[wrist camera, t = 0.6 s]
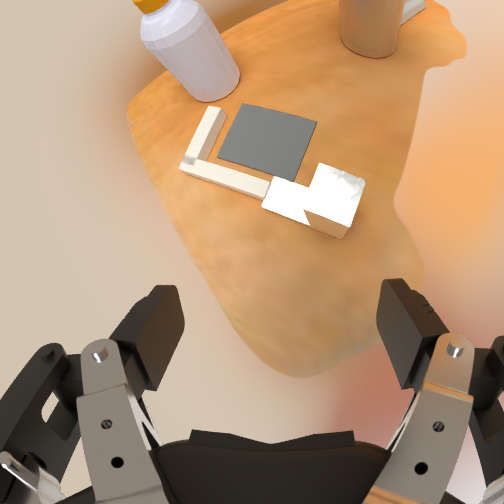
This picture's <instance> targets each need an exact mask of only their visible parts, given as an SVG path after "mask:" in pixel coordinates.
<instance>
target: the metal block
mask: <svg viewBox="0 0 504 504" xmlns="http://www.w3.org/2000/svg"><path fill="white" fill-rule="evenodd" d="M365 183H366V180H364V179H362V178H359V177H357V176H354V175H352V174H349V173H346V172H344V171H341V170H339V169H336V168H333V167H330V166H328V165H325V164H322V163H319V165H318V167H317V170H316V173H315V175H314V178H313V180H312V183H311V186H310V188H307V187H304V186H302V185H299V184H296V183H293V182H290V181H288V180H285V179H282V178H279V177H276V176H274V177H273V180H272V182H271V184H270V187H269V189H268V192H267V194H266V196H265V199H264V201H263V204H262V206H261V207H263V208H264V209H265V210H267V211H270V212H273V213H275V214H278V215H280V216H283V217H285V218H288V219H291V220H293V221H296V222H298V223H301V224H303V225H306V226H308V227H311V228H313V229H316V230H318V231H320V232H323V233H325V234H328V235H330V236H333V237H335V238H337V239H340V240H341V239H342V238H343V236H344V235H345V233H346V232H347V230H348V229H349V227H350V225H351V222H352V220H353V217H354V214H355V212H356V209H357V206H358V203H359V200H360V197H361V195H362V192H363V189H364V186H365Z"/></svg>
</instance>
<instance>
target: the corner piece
mask: <svg viewBox="0 0 504 504" xmlns="http://www.w3.org/2000/svg"><path fill="white" fill-rule="evenodd" d="M226 118H227V115H226V114H225V113H224V111H223V110H222V109H221V108H218V107H212V106H209V107H208V109H207V111H206V112H205V114H204V116H203V118H202V120H201V122H200V124H199V126H198V128H197V130H196V132H195V134H194V137H193V139H192V141H191V143H190V145H189V147H188V149H187V151H186V154H185V156H184V158H183V160H182V162H181V165H180V167H179V170H181V171H183V172H184V173H186V174H188V175H191V176H194V177H197V178H200V179H203V180H206V181H209V182H212V183H215V184H218V185H221V186H224V187H227V188H230V189H233V190H236V191H238V192H241V193H244V194H247V195H250V196H252V197H255V198H258V199H261V200H263V201H264V199H265V196H266V194H267V192H268V189H269V187H270V184H271V183H270V182H268V181H265V180H262V179H259V178H256V177H253V176H250V175H247V174H244V173H241V172H238V171H235V170H232V169H229V168H225V167H222V166H219V165H215V164H212V163H209V162H206V160H207V158H208V156H209V153H210V151H211V149H212V147H213V145H214V143H215V140H216V138H217V136H218V134H219V132H220V130H221V128H222V126H223V124H224V122H225V120H226Z"/></svg>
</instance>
